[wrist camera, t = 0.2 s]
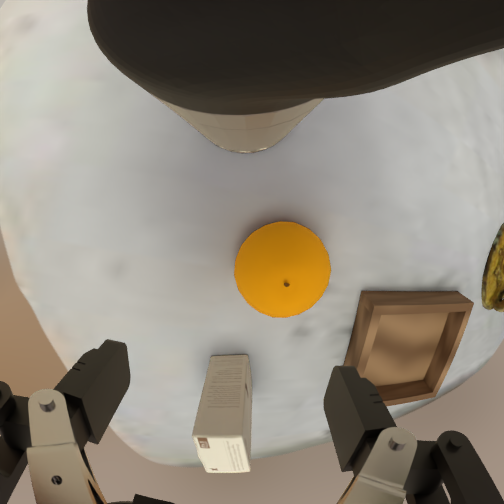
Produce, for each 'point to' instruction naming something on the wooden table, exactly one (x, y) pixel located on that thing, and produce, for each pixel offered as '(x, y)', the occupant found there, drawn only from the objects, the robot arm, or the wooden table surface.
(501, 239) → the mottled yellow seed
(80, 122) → the wooden table surface
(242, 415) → the skincare box
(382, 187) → the wooden table surface
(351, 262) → the wooden table surface
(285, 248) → the orange
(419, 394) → the walnut box
